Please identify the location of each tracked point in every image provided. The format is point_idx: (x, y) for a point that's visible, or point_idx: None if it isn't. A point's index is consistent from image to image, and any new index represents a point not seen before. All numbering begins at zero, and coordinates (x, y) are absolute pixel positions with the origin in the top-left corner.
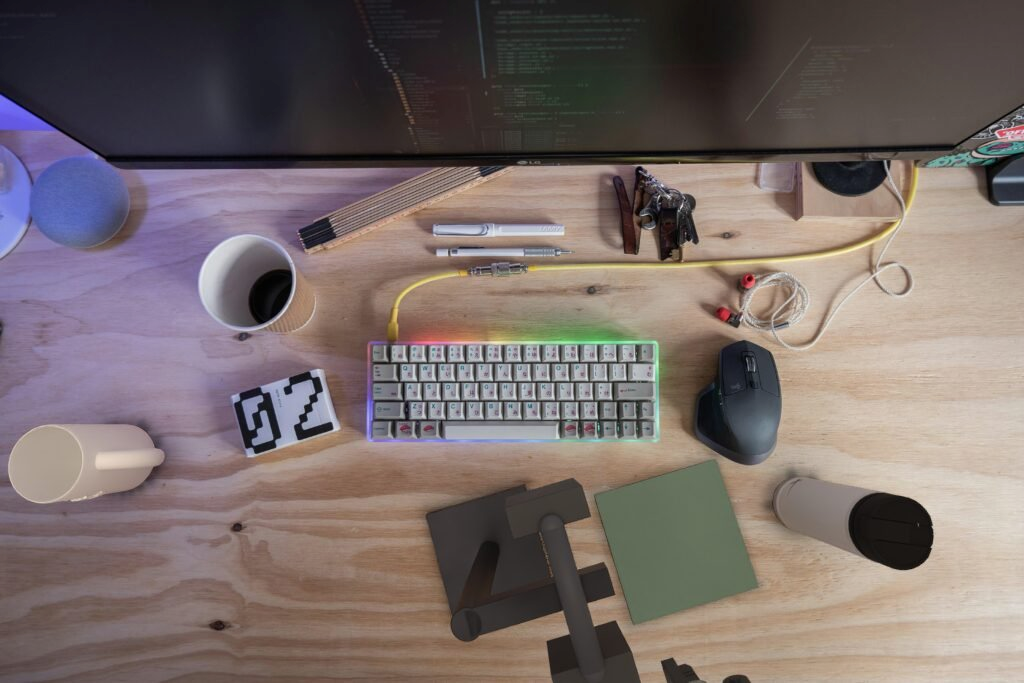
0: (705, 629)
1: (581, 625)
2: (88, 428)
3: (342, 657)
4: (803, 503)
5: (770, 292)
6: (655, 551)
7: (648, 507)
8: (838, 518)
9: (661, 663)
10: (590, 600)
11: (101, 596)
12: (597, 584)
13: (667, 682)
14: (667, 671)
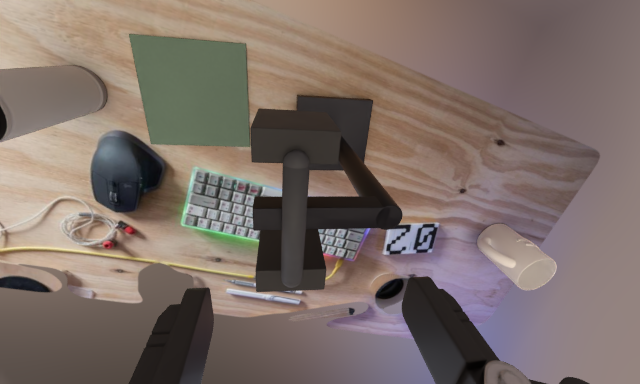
0: (185, 15)
1: (294, 212)
2: (506, 275)
3: (448, 98)
4: (70, 114)
5: (91, 235)
6: (214, 94)
7: (212, 126)
8: (21, 125)
9: (212, 325)
10: (277, 210)
11: (542, 177)
12: (267, 220)
13: (209, 309)
14: (203, 369)
